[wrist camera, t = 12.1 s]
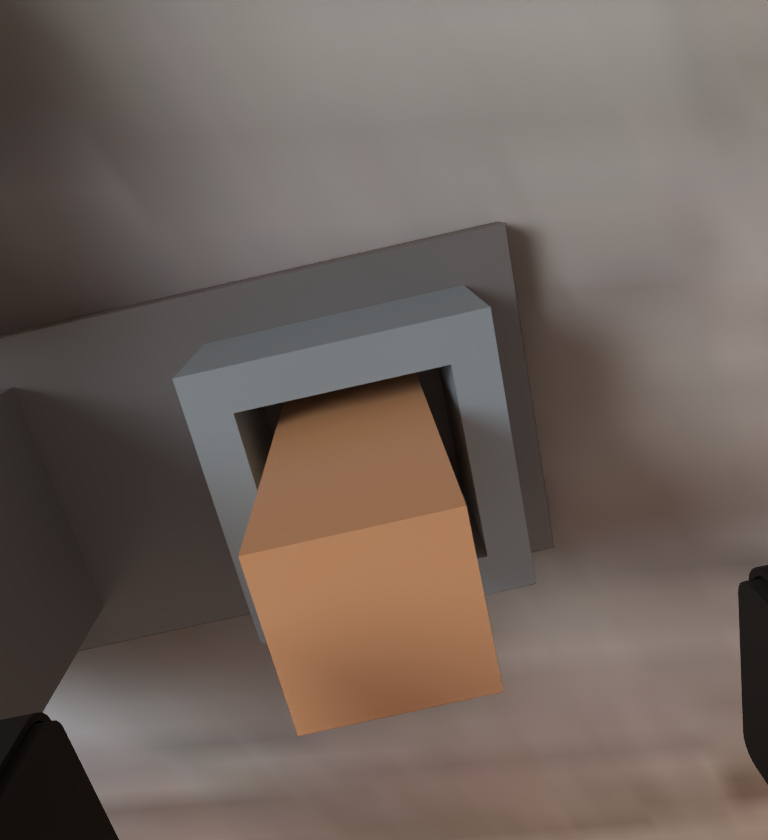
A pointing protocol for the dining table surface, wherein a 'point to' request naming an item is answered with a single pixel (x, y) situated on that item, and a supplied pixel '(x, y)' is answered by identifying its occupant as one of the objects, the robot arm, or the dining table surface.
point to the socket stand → (238, 437)
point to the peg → (366, 561)
